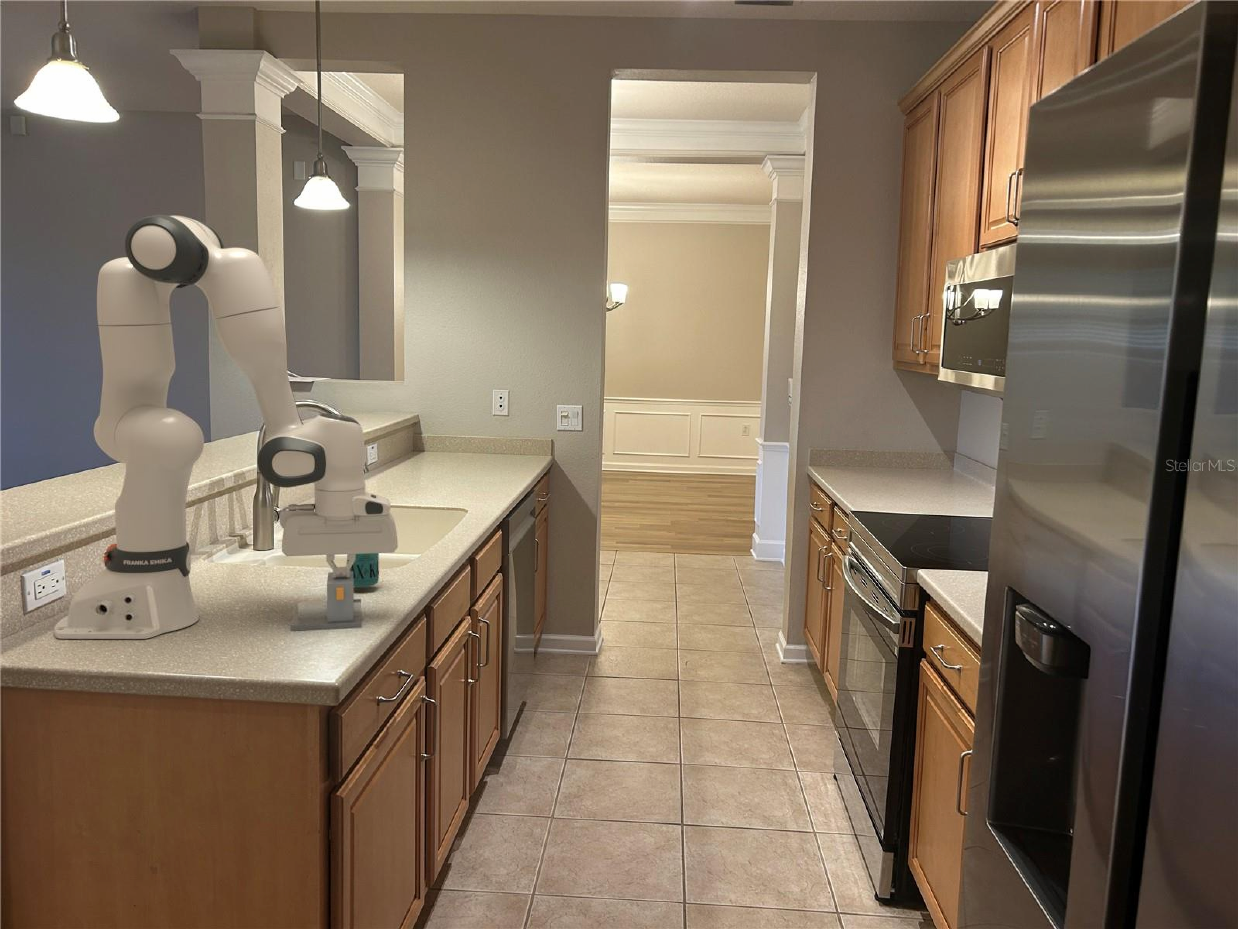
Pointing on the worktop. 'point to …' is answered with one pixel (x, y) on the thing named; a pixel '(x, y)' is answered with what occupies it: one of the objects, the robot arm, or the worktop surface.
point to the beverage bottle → (365, 569)
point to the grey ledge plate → (321, 617)
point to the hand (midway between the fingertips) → (341, 577)
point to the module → (340, 598)
